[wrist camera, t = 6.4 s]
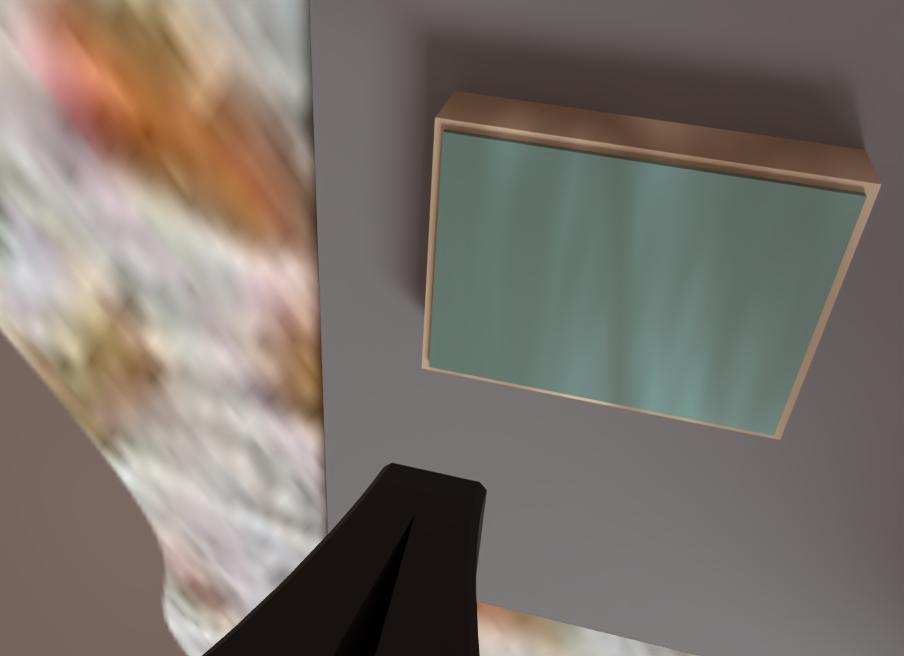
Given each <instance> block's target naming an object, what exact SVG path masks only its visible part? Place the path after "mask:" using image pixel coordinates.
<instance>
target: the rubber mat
mask: <svg viewBox="0 0 904 656" xmlns="http://www.w3.org/2000/svg"><path fill="white" fill-rule="evenodd" d="M309 5H310V34H311V62H312V91H313V120H314V148H315V177H316V205H317V234H318V263H319V291H320V320H321V348H322V377H323V406H324V434H325V463H326V491H327V520H328V534H329V533H330V531H331V530H332V529H333V528H334V527H335V526H336V525H337V523H338V522H339V521H340V520H341V519H342V518H343V517H344V516H345V514H346V513H347V512H348V511H349V510H350V509H351V507H352V506H353V505H354V504H355V503H356V502H357V500H358V499H359V498H360V497H361V495H362V494H363V493H364V492H365V490H366V489H367V488H368V487H369V486H370V484H371V483H372V482H373V480H374V479H375V478H376V477H377V475H378V474H379V473H380V471H381V470H382V469H383V467H385V466H386V465H388V464H390V463H396V464H401V465H405V466H410V467H414V468H419V469H423V470H428V471H432V472H437V473H441V474H446V475H451V476H455V477H460V478H464V479H469V480H473V481H478V482H480V483H481V484H482V485H483V486H484V487H485V489H486V490H487V494H486V502H485V510H484V518H483V526H482V534H481V542H480V550H479V558H478V566H477V574H476V598H477V602H481V603H485V604H489V605H493V606H497V607H502V608H506V609H510V610H514V611H518V612H522V613H526V614H530V615H534V616H539V617H543V618H547V619H551V620H555V621H559V622H563V623H567V624H571V625H575V626H580V627H584V628H588V629H592V630H596V631H600V632H604V633H608V634H612V635H617V636H621V637H625V638H629V639H633V640H637V641H641V642H645V643H649V644H654V645H658V646H662V647H666V648H670V649H674V650H678V651H682V652H686V653H691V654H695V655H699V656H904V0H309ZM454 91H460V92H467V93H474V94H480V95H487V96H494V97H501V98H508V99H515V100H522V101H529V102H536V103H543V104H550V105H557V106H564V107H571V108H578V109H585V110H592V111H598V112H605V113H612V114H619V115H626V116H633V117H640V118H647V119H654V120H661V121H668V122H675V123H682V124H689V125H696V126H703V127H709V128H716V129H723V130H730V131H737V132H744V133H751V134H758V135H765V136H772V137H779V138H786V139H793V140H800V141H807V142H814V143H821V144H827V145H834V146H841V147H848V148H855V149H862V150H866V152H867V154H868V156H869V158H870V161H871V163H872V165H873V167H874V169H875V171H876V174H877V176H878V178H879V180H880V182H881V187H880V189H879V192H878V194H877V197H876V199H875V202H874V204H873V207H872V209H871V212H870V215H869V217H868V220H867V222H866V225H865V227H864V230H863V232H862V235H861V237H860V240H859V242H858V245H857V247H856V250H855V252H854V255H853V257H852V260H851V262H850V265H849V268H848V270H847V273H846V275H845V278H844V280H843V283H842V285H841V288H840V290H839V293H838V295H837V298H836V300H835V303H834V305H833V308H832V310H831V313H830V315H829V318H828V320H827V323H826V326H825V328H824V331H823V333H822V336H821V338H820V341H819V343H818V346H817V348H816V351H815V353H814V356H813V358H812V361H811V363H810V366H809V368H808V371H807V373H806V376H805V379H804V381H803V384H802V386H801V389H800V391H799V394H798V396H797V399H796V401H795V404H794V406H793V409H792V411H791V414H790V416H789V419H788V421H787V424H786V426H785V429H784V432H783V434H782V437H781V439H780V440H778V439H773V438H768V437H763V436H758V435H753V434H748V433H743V432H738V431H733V430H728V429H723V428H718V427H713V426H708V425H703V424H698V423H693V422H688V421H683V420H678V419H673V418H668V417H663V416H658V415H653V414H648V413H643V412H638V411H633V410H628V409H623V408H618V407H613V406H608V405H603V404H598V403H593V402H588V401H583V400H578V399H573V398H568V397H563V396H558V395H553V394H548V393H543V392H538V391H533V390H528V389H523V388H518V387H513V386H508V385H503V384H498V383H493V382H487V381H482V380H477V379H472V378H467V377H462V376H457V375H452V374H447V373H442V372H437V371H432V370H427V369H422V353H423V334H424V315H425V297H426V278H427V259H428V240H429V221H430V203H431V184H432V165H433V146H434V128H435V117H436V115H437V114H438V113H439V111H440V110H441V109H442V107H443V106H444V105H445V103H446V102H447V101H448V99H449V98H450V96H451V95H452V94H453V92H454Z"/></svg>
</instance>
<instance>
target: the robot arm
mask: <svg viewBox="0 0 904 656" xmlns="http://www.w3.org/2000/svg"><path fill="white" fill-rule="evenodd" d="M486 494H487V490H486V489H485V487H484V486H483V485H482V484H481V483H480V482H478V481H473V480H469V479H464V478H460V477H455V476H451V475H446V474H441V473H437V472H432V471H428V470H423V469H419V468H414V467H410V466H405V465H401V464H396V463H390V464H388V465H386V466H385V467H383V469H382V470H381V471H380V473H379V474H378V475H377V477H376V478H375V479H374V480H373V482H372V483H371V484H370V486H369V487H368V488H367V489H366V490H365V492H364V493H363V494H362V495H361V497H360V498H359V499H358V500H357V502H356V503H355V504H354V505H353V506H352V507H351V509H350V510H349V511H348V512H347V513H346V514H345V516H344V517H343V518H342V519H341V520H340V521H339V522H338V523H337V525H336V526H335V527H334V528H333V529H332V530H331V531H330V533H329V534H328V535H327V536H326V537H325V538H324V539H323V540H322V541H321V542H320V543H319V544H318V545H317V546H316V547H315V549H314V550H313V551H312V552H311V553H310V554H309V555H308V556H307V557H306V558H305V559H304V560H303V561H302V562H301V563H300V564H299V565H298V566H297V567H296V569H295V570H294V571H293V572H292V573H291V574H290V575H289V576H288V577H287V578H286V579H285V580H284V581H283V582H282V583H281V584H280V585H279V586H278V587H277V588H276V589H275V590H274V591H272V592H271V593H270V594H269V595H268V596H267V597H266V598H265V599H264V600H263V601H262V602H261V603H260V604H259V605H258V606H257V607H256V608H254V609H253V610H252V611H251V612H250V613H249V614H248V615H247V616H246V617H245V618H244V619H243V620H242V621H241V622H240V623H239V624H238V625H236V626H235V627H234V628H233V629H232V630H231V631H230V632H229V633H228V634H226V635H225V636H224V637H223V638H222V639H221V640H220V641H218V642H217V643H216V644H215V645H214V646H213V647H212V648H210V649H209V650H208V651H207V652H206V653H205V654H203V655H202V656H480V655H479V642H478V623H477V598H476V574H477V566H478V558H479V550H480V542H481V534H482V526H483V518H484V510H485V502H486Z"/></svg>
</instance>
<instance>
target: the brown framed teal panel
mask: <svg viewBox="0 0 904 656" xmlns="http://www.w3.org/2000/svg"><path fill="white" fill-rule="evenodd" d="M880 187H881V182H880V180H879V178H878V176H877V174H876V171H875V169H874V167H873V165H872V163H871V161H870V158H869V156H868V154H867V152H866V150H862V149H855V148H848V147H841V146H834V145H827V144H821V143H814V142H807V141H800V140H793V139H786V138H779V137H772V136H765V135H758V134H751V133H744V132H737V131H730V130H723V129H716V128H709V127H703V126H696V125H689V124H682V123H675V122H668V121H661V120H654V119H647V118H640V117H633V116H626V115H619V114H612V113H605V112H598V111H592V110H585V109H578V108H571V107H564V106H557V105H550V104H543V103H536V102H529V101H522V100H515V99H508V98H501V97H494V96H487V95H480V94H474V93H467V92H460V91H454V92H453V94H452V95H451V96H450V98H449V99H448V101H447V102H446V103H445V105H444V106H443V107H442V109H441V110H440V111H439V113H438V114H437V115H436V117H435V128H434V146H433V165H432V184H431V203H430V221H429V240H428V259H427V278H426V297H425V315H424V334H423V353H422V369H427V370H432V371H437V372H442V373H447V374H452V375H457V376H462V377H467V378H472V379H477V380H482V381H487V382H493V383H498V384H503V385H508V386H513V387H518V388H523V389H528V390H533V391H538V392H543V393H548V394H553V395H558V396H563V397H568V398H573V399H578V400H583V401H588V402H593V403H598V404H603V405H608V406H613V407H618V408H623V409H628V410H633V411H638V412H643V413H648V414H653V415H658V416H663V417H668V418H673V419H678V420H683V421H688V422H693V423H698V424H703V425H708V426H713V427H718V428H723V429H728V430H733V431H738V432H743V433H748V434H753V435H758V436H763V437H768V438H773V439H778V440H780V439H781V437H782V434H783V432H784V429H785V426H786V424H787V421H788V419H789V416H790V414H791V411H792V409H793V406H794V404H795V401H796V399H797V396H798V394H799V391H800V389H801V386H802V384H803V381H804V379H805V376H806V373H807V371H808V368H809V366H810V363H811V361H812V358H813V356H814V353H815V351H816V348H817V346H818V343H819V341H820V338H821V336H822V333H823V331H824V328H825V326H826V323H827V320H828V318H829V315H830V313H831V310H832V308H833V305H834V303H835V300H836V298H837V295H838V293H839V290H840V288H841V285H842V283H843V280H844V278H845V275H846V273H847V270H848V268H849V265H850V262H851V260H852V257H853V255H854V252H855V250H856V247H857V245H858V242H859V240H860V237H861V235H862V232H863V230H864V227H865V225H866V222H867V220H868V217H869V215H870V212H871V209H872V207H873V204H874V202H875V199H876V197H877V194H878V192H879V189H880Z"/></svg>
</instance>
